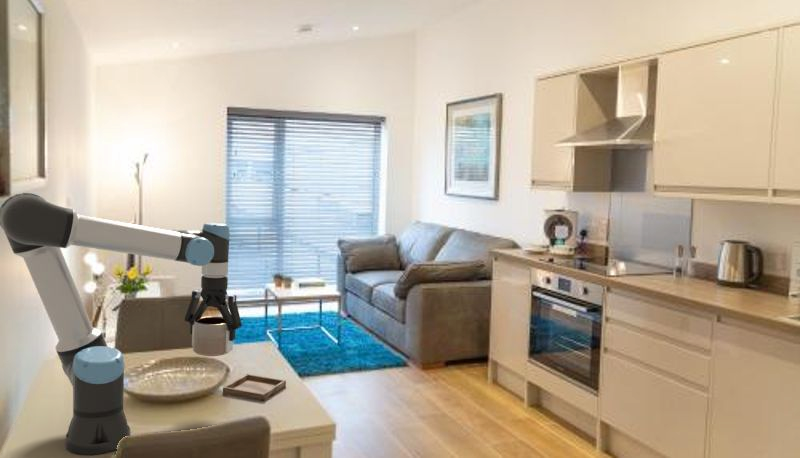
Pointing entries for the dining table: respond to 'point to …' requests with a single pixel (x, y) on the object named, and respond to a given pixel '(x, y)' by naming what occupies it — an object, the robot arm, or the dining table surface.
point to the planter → (210, 336)
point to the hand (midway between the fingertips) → (212, 348)
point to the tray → (254, 387)
